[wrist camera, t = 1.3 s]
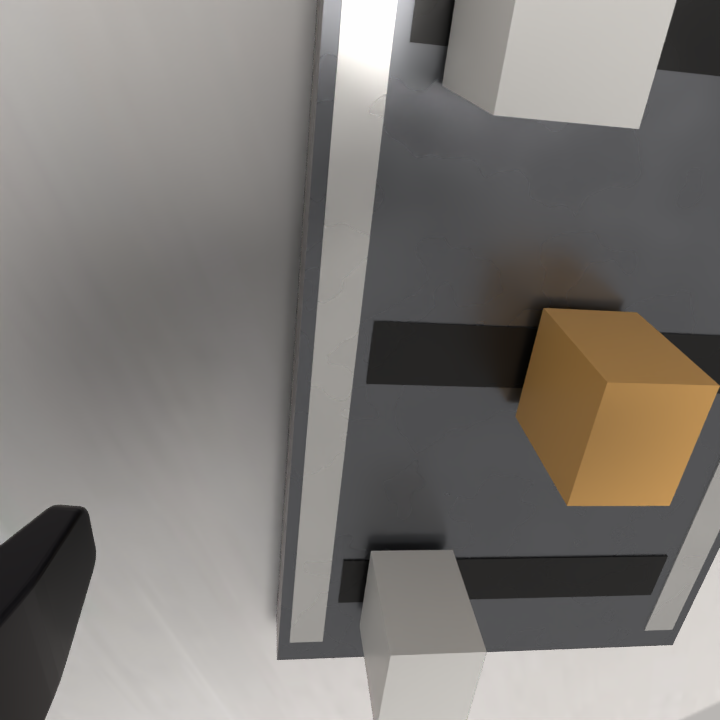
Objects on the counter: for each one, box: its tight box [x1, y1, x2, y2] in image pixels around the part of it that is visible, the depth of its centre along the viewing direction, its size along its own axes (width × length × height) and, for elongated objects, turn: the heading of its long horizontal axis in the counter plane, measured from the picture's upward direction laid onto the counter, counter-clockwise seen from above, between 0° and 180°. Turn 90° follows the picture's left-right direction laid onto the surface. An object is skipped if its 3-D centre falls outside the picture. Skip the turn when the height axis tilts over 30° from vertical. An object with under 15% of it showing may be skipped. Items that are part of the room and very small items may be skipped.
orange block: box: [515, 308, 720, 506], centre depth 18 cm, size 4×3×4 cm
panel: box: [276, 0, 720, 660], centre depth 21 cm, size 26×16×2 cm, turn 174°
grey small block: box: [360, 550, 487, 720], centre depth 22 cm, size 4×3×4 cm
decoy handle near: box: [442, 0, 676, 129], centre depth 13 cm, size 4×3×4 cm
